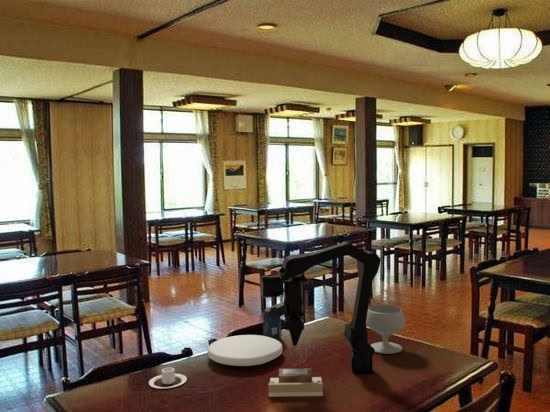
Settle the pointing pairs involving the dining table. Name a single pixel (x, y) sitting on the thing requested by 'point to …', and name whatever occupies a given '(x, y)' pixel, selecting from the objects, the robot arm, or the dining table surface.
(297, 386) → the wall board
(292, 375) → the frame
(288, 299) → the robot arm
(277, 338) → the soda can
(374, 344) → the chalice
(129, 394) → the dining table surface
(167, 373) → the candle holder
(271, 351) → the white thick flat disc
